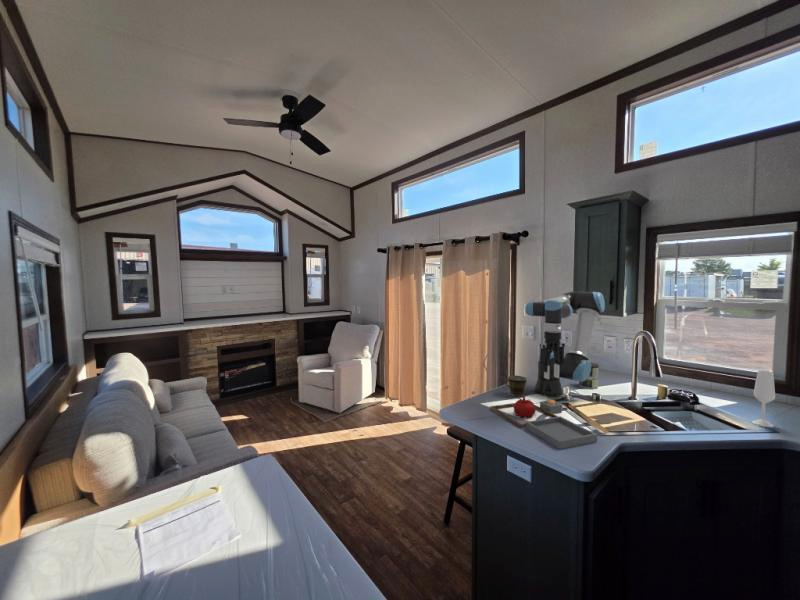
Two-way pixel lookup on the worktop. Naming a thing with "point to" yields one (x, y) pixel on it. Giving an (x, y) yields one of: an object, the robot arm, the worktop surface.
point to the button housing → (551, 407)
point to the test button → (550, 402)
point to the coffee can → (591, 378)
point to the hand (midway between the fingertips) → (551, 377)
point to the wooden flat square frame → (523, 425)
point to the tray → (561, 432)
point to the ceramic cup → (516, 385)
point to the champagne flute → (764, 393)
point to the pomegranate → (524, 408)
